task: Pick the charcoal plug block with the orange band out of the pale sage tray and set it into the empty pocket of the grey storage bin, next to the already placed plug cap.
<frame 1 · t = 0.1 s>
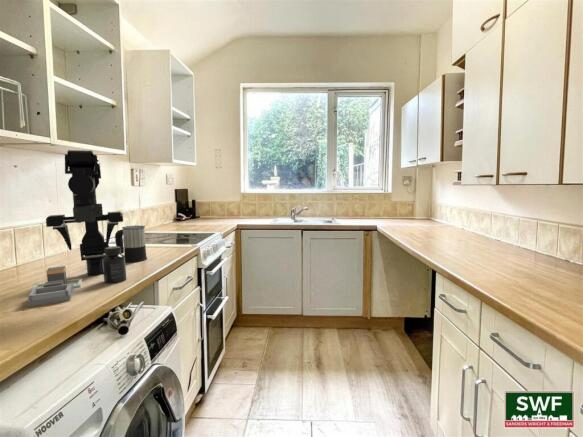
hand: (89, 248, 100), 15 cm above the table, tool pointing down, fingers open, 9 cm apart
tray: (58, 288, 110), on the table
grey storage bin: (53, 299, 100), on the table
supplement bottle: (115, 282, 116), on the table
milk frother: (127, 262, 146), on the table
plug: (57, 286, 110), point 1 cm above the table, touching tray
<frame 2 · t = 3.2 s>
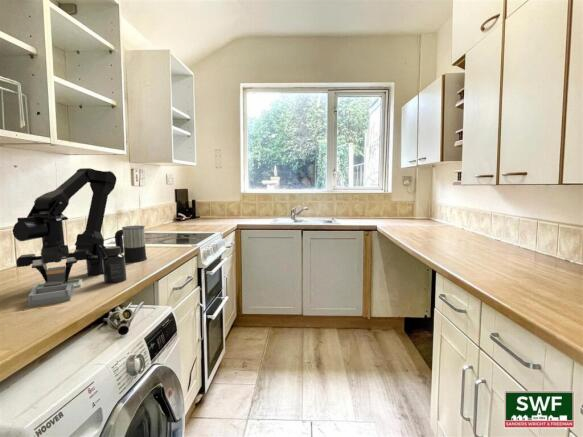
hand: (57, 283, 110), 2 cm above the table, tool pointing down, fingers closed on plug, 4 cm apart
plug: (57, 286, 110), point 1 cm above the table, touching gripper, tray
everything else where it was.
when the fingers open (4 cm above the table, at t = 7.0 s): plug stays where it is, resting on grey storage bin.
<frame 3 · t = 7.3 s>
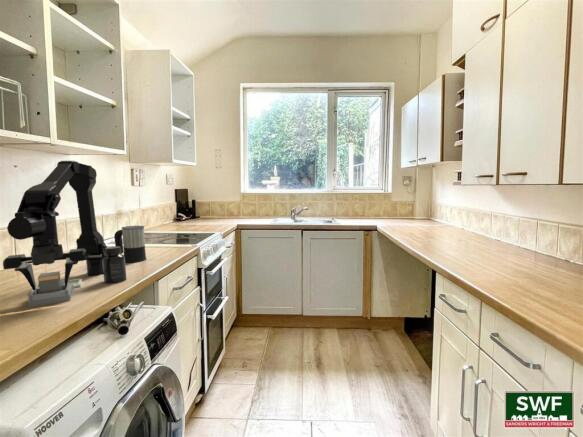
hand: (50, 287, 97), 4 cm above the table, tool pointing down, fingers open, 7 cm apart
plug: (51, 294, 98), point 2 cm above the table, touching grey storage bin
everything else where it was.
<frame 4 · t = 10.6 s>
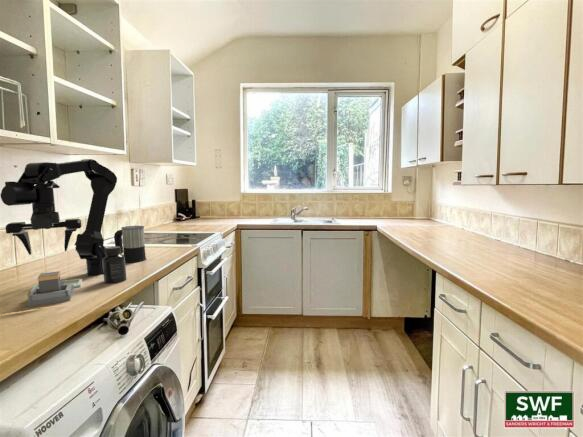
hand: (48, 252, 108), 12 cm above the table, tool pointing down, fingers open, 9 cm apart
nothing on the table moved.
at the end: plug 0.0 cm from the target spot on the grey storage bin, point 2.0 cm above the grey storage bin's base; plug tilted 0°; the gripper is holding nothing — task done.
